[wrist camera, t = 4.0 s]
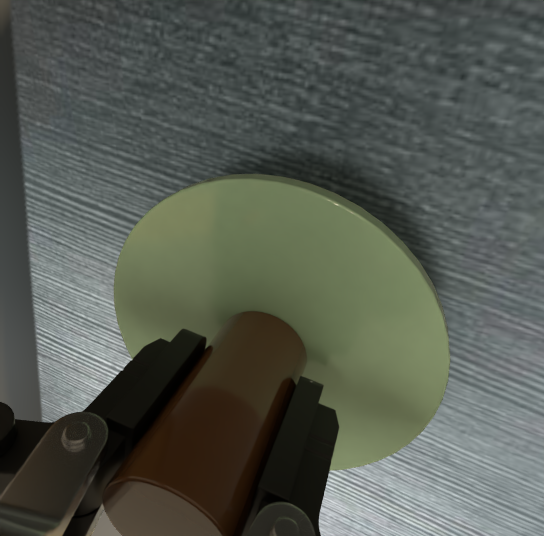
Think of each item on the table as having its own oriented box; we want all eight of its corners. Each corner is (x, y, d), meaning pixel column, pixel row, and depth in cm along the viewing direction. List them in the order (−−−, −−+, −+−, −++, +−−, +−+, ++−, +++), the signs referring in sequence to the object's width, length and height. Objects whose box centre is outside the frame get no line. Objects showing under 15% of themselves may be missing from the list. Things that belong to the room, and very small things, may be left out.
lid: (87, 298, 17) (-102, 440, 11) (260, 78, 11) (52, 122, 5) (281, 477, 18) (208, 692, 12) (532, 369, 12) (634, 690, 6)
